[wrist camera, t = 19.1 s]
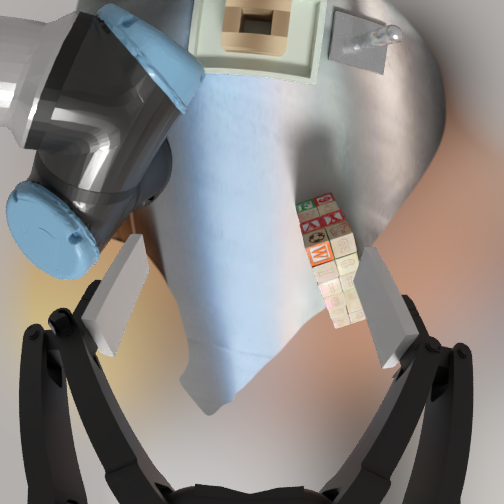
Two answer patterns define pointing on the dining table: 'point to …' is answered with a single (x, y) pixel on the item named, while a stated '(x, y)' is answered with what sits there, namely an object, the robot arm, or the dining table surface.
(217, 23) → the tray
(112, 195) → the robot arm
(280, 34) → the oak block
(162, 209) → the dining table surface
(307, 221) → the stack of blocks
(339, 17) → the post
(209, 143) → the dining table surface
